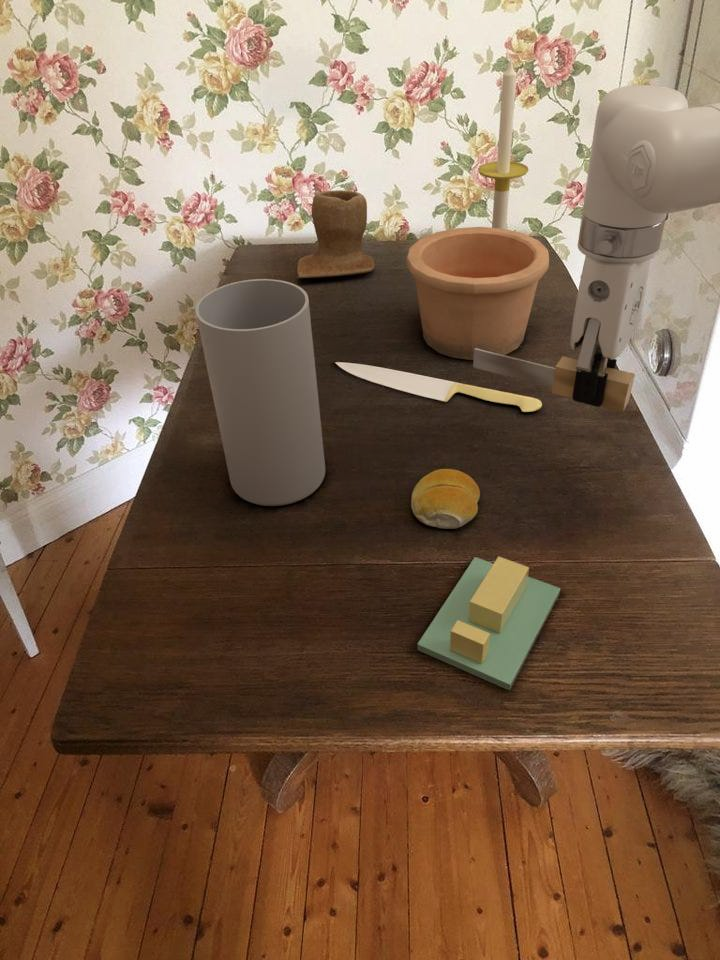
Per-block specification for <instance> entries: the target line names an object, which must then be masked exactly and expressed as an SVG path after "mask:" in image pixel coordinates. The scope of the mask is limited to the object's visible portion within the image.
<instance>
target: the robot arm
mask: <svg viewBox="0 0 720 960" xmlns="http://www.w3.org/2000/svg"><path fill="white" fill-rule="evenodd" d="M589 155H590V156H589V161H588V169H587V177H586V183H585V191H584V198H583V204H582V211H581V219H580V226H579V233H578V239H577V249H578V251H579V252H580V253H582V254H583V255H584V260H583V266H582V271H581V274H580V280H579V285H578V290H577V295H576V301H575V305H574V306H575V308H574V312H573V318H572V323H571V332H570V348H571V349H572V351H574V352H577V351H578V350H579V355H578V358H577V360H578V362H577V366H576V369H577V371H576V377H575V384H574V390H573V396H572V398H571V399H572V400H573V401H574V402H577V403H581V404H585V405H588V406H591V407H597V408H599V407H602V406H601V405H602V403H603V398H604V393H605V388H606V382H607V377H608V374H607V373H605V371H606V367H609V368H613V369H616V366H617V360H618V359H617V358H618V357H620V356H621V355H622V353H623V352H624V350H625V348H627V345H628V344H629V343H630V340H631V339H632V337H633V336H634V334H635V332H636V330H637V329H638V327H639V325H640V323H641V319H642V314H643V307H644V301H645V296H646V290H647V282H648V277H649V272H650V264H651V259H654V258H655V257H656V256H658V254H659V252H660V247H661V244H662V238H663V234H664V230H665V229H664V228H665V224H666V220H667V214H674V213H679V212H684V211H689V210H694V209H698V208H703V207H707V206H710V205H714V204H715V205H716V204H720V102H716V103H711V104H704V105H701V106H695V107H694V106H693V107H689V103H688V100H687V97H686V96H685V95H684V94H683V93H682V92H680V91H679V90H676V89H674V88H672V87H668V86H662V85H655V84H633V85H625V86H621V87H617V88H614V89H612V90H610V91H607V93H605V95H604V96H603V97H602V98H601V99H600V102H599V103H598V106H597V110H596V114H595V121H594V128H593V135H592V142H591V150H590V154H589ZM579 348H580V349H579Z"/></svg>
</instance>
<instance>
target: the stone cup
mask: <svg viewBox="0 0 720 960" xmlns="http://www.w3.org/2000/svg"><path fill="white" fill-rule="evenodd" d="M311 218H312V223H313V228H314V232H315V235H316V239H317V246H318V247H317V250H316V251H315V252H314V253H312V254H307V255H304V256H303V257H301V258H300V259H299V260H298V262H297V267H296V274H297V278H298V279H321V278H334V277H335V278H336V277H346V276H354V275H361V274H367V273H370V272H372V271H373V270H374V269H375V261H374V259H373V258H372V257H371V256H370V255H369V254H367V253H365V252H363V251H362V248H363V247H362V246H363V239H364V238H363V237H364V235H365V232H366V227H367V222H368V203H367V199H366V197H365V195H364V194H362V193H360V192H357V191H352V190H344V189H343V190H341V189H337V190H326V191H320V192H317V193H315V194H314V196H313V200H312V203H311Z"/></svg>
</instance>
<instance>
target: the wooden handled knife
mask: <svg viewBox="0 0 720 960" xmlns="http://www.w3.org/2000/svg"><path fill="white" fill-rule="evenodd" d="M577 362H578V359H574V358H571V357H567V356H562V357H561V358H560V360H559V361H558V362H557V364H556V365H555V366H550V365H545V364H542V363H537V362H533V361H529V360H525V359H521V358H518V357H513V356H509V355H501V354H497V353H493V352H489V351H485V350H481V349H477V348H475V349H474V360H473V362H472V363H473V364H472V368H473V369H477V370H481V371H485V372H489V373H493V374H497V375H501V376H503V377H508V378H512V379H517V380H520V381H523V382H527V383H531V384H536V385H539V386H544V387H546V388H551V394H553V395H557V396H561V397H564V398H567V399H572V396H573V390H574V384H575V377H576V371H577V369H576V366H577ZM605 373H607V374H608V377H607V382H606V388H605V393H604V398H603V403H602V405H601V406H600V407H603V408H607V409H611V410H614V411H619V412H624V411H625V409H626V408H627V405H628V404H629V402H630V398H631V393H632V388H633V385H634V382H635V381H634V380H635V377H636V373H634V372H629V371H626V370H622V369H617V368H615V369H613V368H609V367H606V371H605Z"/></svg>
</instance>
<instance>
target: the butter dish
mask: <svg viewBox="0 0 720 960" xmlns="http://www.w3.org/2000/svg"><path fill="white" fill-rule="evenodd" d="M529 571H530V567H529V566H526V565H524V564H521V563H518V562H515V561H512V560H510V559H507V558H504V557H503V556H502V557H501V556H500V555H499V556H497V558H496V559H495V561H494V562H489V561H488V560H484V559H482V558H480V557H477V556H474V557H473V559H472V561H471V562H470V563H469V565H468V566H467V568H466V570H465V571H464V572H463V574H462V576H461V577H460V579H459V580H458V582H457V583H456V585H455V586H454V587H453V589H452V591H451V593H450V594H449V595H448V597H447V598H446V600H445V602H444V603H443V605H442V606H441V607H440V609H439V610H438V611H437V613H436V615H435V617H434V618H433V620H432V621H431V622H430V624H429V625H428V627H427V629H426V630H425V631H424V633H423V634H422V636H421V638H420V639H419V640H418V642H417V645H416V647H417V651H418V652H421V653H423V654H425V655H427V656H430V657H432V658H434V659H437V660H439V661H441V662H443V663H446V664H448V665H450V666H453V667H455V668H457V669H459V670H462V671H464V672H466V673H467V674H468V673H469V674H471V675H473V676H475V677H476V678H477V677H478V678H479V679H482V680H484V681H487V682H489V683H491V684H492V685H493V684H494V685H495V686H498V687H499V688H502V689H505V690H507V691H510V690H511V689H512V687H513V686H514V683H515V681H516V679H517V678H518V676H519V674H520V671H521V670H522V667H523V666H524V664H525V662H526V660H527V658H528V657H529V654H530V652H531V650H532V648H533V646H534V645H535V643H536V641H537V639H538V637H539V635H540V633H541V631H542V629H543V627H544V625H545V623H546V621H547V619H548V617H549V616H550V614H551V612H552V610H553V609H554V606H555V604H556V602H557V601H558V598H559V596H560V594H561V588H560V587H558V586H555V585H553V584H550V583H547V582H545V581H542V580H539V579H536V578H533V577H532V576H531V577H530V576H529ZM457 620H459V621H461V622H464V623H466V624H469V625H471V626H473V627H476V628H478V629H481V630H483V631H485V632H488V633H490V640H489V650H488V654H487V656H486V657H485V659H484V661H483V663H479V662H477V661H475V660H472V659H470V658H468V657H465V656H463V655H461V654H458V653H456V652H454V651H452V650H450V637H451V630H452V628H453V626H454V625H455V623H456V622H457Z"/></svg>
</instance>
